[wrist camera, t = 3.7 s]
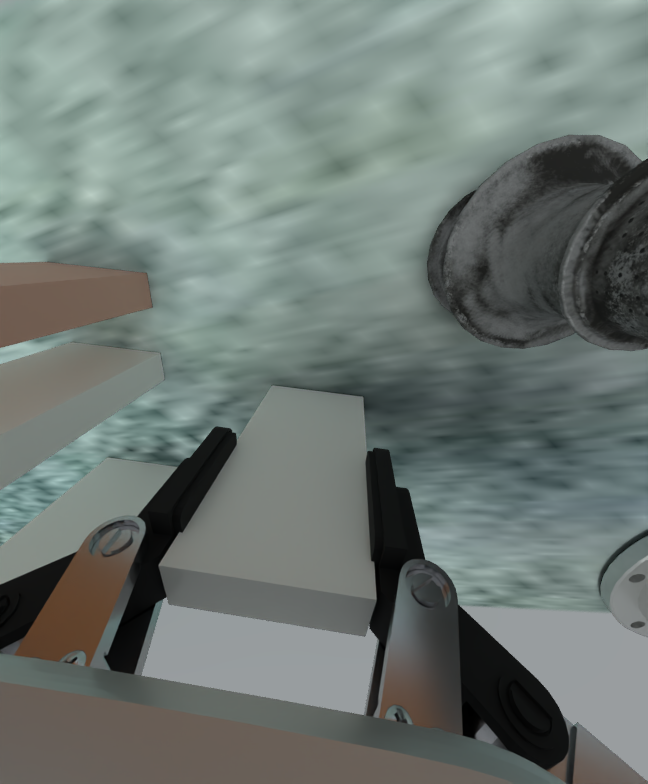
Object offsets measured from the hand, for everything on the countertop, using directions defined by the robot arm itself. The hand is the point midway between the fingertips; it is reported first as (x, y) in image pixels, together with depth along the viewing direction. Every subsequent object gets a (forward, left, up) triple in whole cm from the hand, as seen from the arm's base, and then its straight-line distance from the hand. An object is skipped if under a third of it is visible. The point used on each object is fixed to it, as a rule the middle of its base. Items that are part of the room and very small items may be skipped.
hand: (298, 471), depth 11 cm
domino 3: (0, 0, -6) cm, 6 cm away
